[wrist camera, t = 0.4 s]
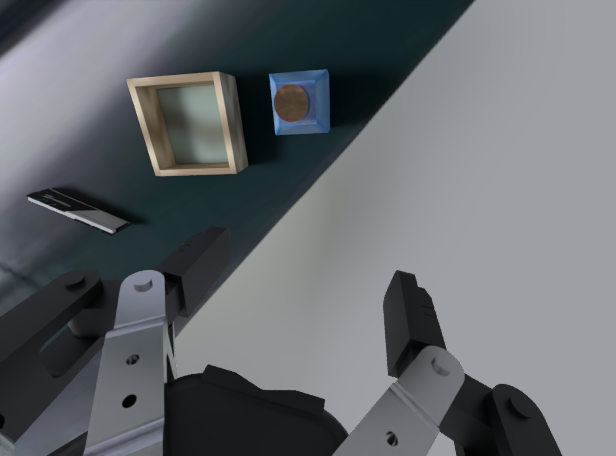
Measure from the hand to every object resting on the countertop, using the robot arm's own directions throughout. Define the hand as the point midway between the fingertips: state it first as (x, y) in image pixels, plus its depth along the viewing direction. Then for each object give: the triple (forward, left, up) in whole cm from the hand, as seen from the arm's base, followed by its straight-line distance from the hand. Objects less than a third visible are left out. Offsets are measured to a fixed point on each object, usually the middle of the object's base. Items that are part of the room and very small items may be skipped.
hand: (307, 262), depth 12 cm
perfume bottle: (-8, -3, -27) cm, 28 cm away
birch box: (-5, -18, -27) cm, 33 cm away
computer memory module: (+6, -42, -27) cm, 50 cm away
